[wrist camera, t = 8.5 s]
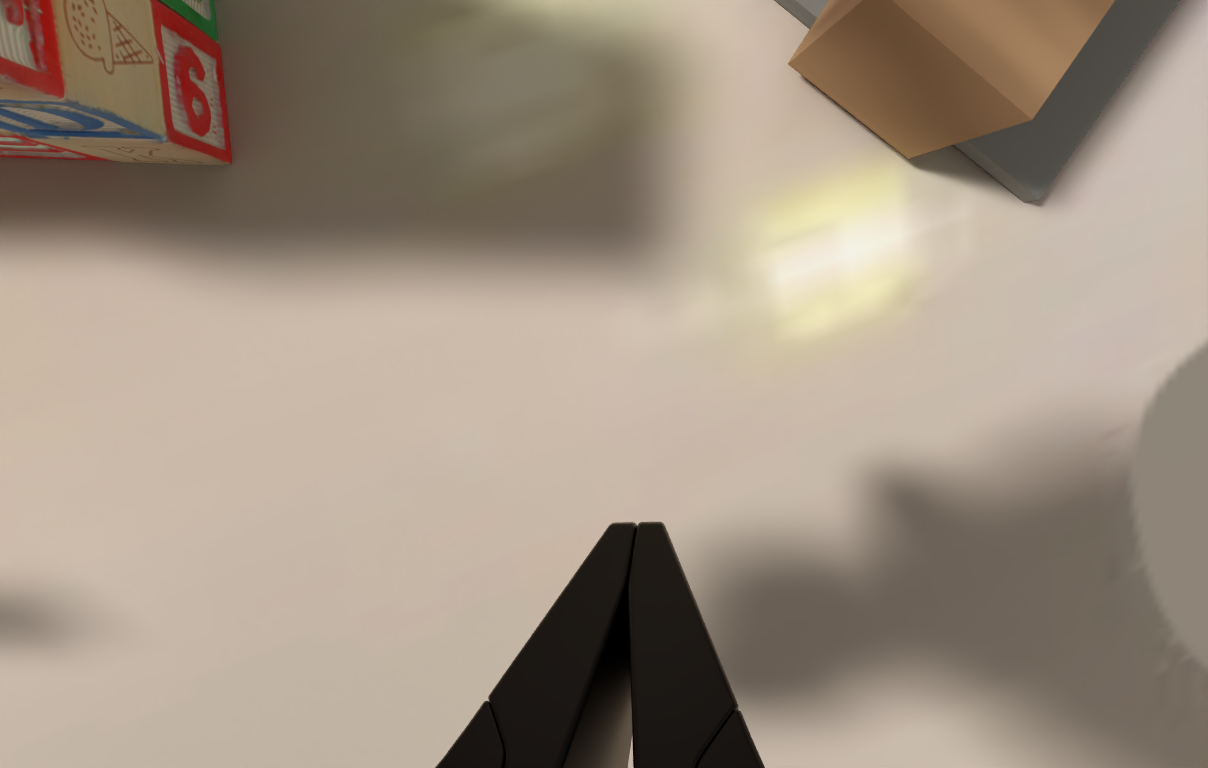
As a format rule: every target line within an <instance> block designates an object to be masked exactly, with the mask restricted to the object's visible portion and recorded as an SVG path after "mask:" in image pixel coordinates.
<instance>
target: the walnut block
mask: <svg viewBox="0 0 1208 768" xmlns="http://www.w3.org/2000/svg"><path fill="white" fill-rule="evenodd" d="M1114 1H1115V0H829V1H828V2H827V4H826V5H825V7H824V8H823V10H822V12H821V13H820V15H819V16H818V18H817V19H816V21H815V22H814V24H813V26H812V27H811V29H810V30H809V32H808V33H807V35H806V36H805V38H804V40H803V41H802V43H801V44H800V46H799V47H798V49H797V51H796V52H795V54H794V55H793V57H792V58H791V60H790V61H789V63H788V64H789V65H790V66H791V67H792V68H794V69H795V70H796V71H797V72H799V73H800V74H801V75H802V76H804V77H805V78H806V79H808V80H809V81H810V82H811V83H813V84H814V85H815V86H816V87H818V88H819V89H820V90H821V91H823V92H824V93H825V94H827V95H828V96H829V97H830V98H832V99H833V100H834V101H835V102H837V103H838V104H839V105H840V106H842V107H843V108H844V109H846V110H847V111H848V112H849V113H851V114H852V115H853V116H854V117H856V118H857V119H858V120H859V121H861V122H862V123H863V124H865V125H866V126H867V127H868V128H870V129H871V130H872V131H873V132H875V133H876V134H877V135H878V136H880V137H881V138H882V139H884V140H885V141H886V142H887V143H889V144H890V145H891V146H892V147H894V148H895V149H896V150H897V151H899V152H900V153H901V154H903V155H904V156H905V157H906V158H908V159H909V158H912V157H916V156H919V155H922V154H925V153H928V152H931V151H935V150H938V149H941V148H944V147H947V146H951V145H954V144H957V143H960V142H963V141H966V140H970V139H973V138H976V137H979V136H982V135H985V134H989V133H992V132H995V131H998V130H1001V129H1005V128H1008V127H1011V126H1014V125H1017V124H1020V123H1024V122H1027V121H1030V120H1032V119H1033V118H1034V117H1035V115H1036V114H1037V112H1038V111H1039V109H1040V108H1041V106H1042V105H1043V104H1044V102H1045V101H1046V99H1047V98H1048V96H1049V95H1050V93H1051V92H1052V91H1053V89H1054V88H1055V86H1056V85H1057V83H1058V82H1059V80H1060V79H1061V78H1062V76H1063V75H1064V73H1065V72H1066V70H1067V69H1068V68H1069V66H1070V65H1071V63H1072V62H1073V60H1074V59H1075V57H1076V56H1077V55H1078V53H1079V52H1080V50H1081V49H1082V47H1083V46H1084V44H1085V43H1086V42H1087V40H1088V39H1089V37H1090V36H1091V34H1092V33H1093V31H1094V30H1095V29H1096V27H1097V26H1098V24H1099V23H1100V21H1101V20H1102V18H1103V17H1104V16H1105V14H1106V13H1107V11H1108V10H1109V8H1110V7H1111V5H1112V4H1113V3H1114Z"/></svg>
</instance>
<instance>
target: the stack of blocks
mask: <svg viewBox="0 0 1208 768" xmlns="http://www.w3.org/2000/svg"><path fill="white" fill-rule="evenodd" d="M0 157H14V158H49V159H74V160H108V161H118V162H137V163H163V164H194V165H229V164H231V163H232V155H231V146H230V136H229V125H228V116H227V106H226V95H225V87H224V77H223V68H222V58H221V49H220V46H219V44H218V37H217V28H216V17H215V7H214V0H0Z"/></svg>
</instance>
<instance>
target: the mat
mask: <svg viewBox="0 0 1208 768" xmlns="http://www.w3.org/2000/svg"><path fill="white" fill-rule="evenodd" d="M775 1H776V2H778V3H779V4H780V5H781V6H782V7H784V8H785V9H786V10H787V11H789V12H790V13H791V14H792V15H794V16H795V17H796V18H797V19H798V20H800V21H801V22H802V23H803V24H805V25H806V26H807V27H808V28H810V29H811V27H812V26H813V24H814V22H815V21H816V19H817V18H818V16H819V15H820V13H821V12H822V10H823V8H824V7H825V5H826V4H827V2H828V1H829V0H775ZM1179 1H1180V0H1115V1H1114V3H1113V4H1112V5H1111V7H1110V8H1109V10H1108V11H1107V13H1106V14H1105V16H1104V17H1103V18H1102V20H1101V21H1100V23H1099V24H1098V26H1097V27H1096V29H1095V30H1094V31H1093V33H1092V34H1091V36H1090V37H1089V39H1088V40H1087V42H1086V43H1085V44H1084V46H1083V47H1082V49H1081V50H1080V52H1079V53H1078V55H1077V56H1076V57H1075V59H1074V60H1073V62H1072V63H1071V65H1070V66H1069V68H1068V69H1067V70H1066V72H1065V73H1064V75H1063V76H1062V78H1061V79H1060V80H1059V82H1058V83H1057V85H1056V86H1055V88H1054V89H1053V91H1052V92H1051V93H1050V95H1049V96H1048V98H1047V99H1046V101H1045V102H1044V104H1043V105H1042V106H1041V108H1040V109H1039V111H1038V112H1037V114H1036V115H1035V117H1034V118H1033V119H1032V120H1030V121H1027V122H1024V123H1020V124H1017V125H1014V126H1011V127H1008V128H1005V129H1001V130H998V131H995V132H992V133H989V134H985V135H982V136H979V137H976V138H973V139H970V140H966V141H963V142H960V143H957V144H954V146H955V147H956V148H958V149H959V150H960V151H961V152H963V153H964V154H965V155H966V156H968V157H969V158H970V159H971V160H972V161H974V162H975V163H976V164H977V165H979V166H980V167H981V168H982V169H984V170H985V171H986V172H987V173H989V174H990V175H991V176H992V177H993V178H995V179H996V180H997V181H998V182H1000V183H1001V184H1002V185H1003V186H1005V187H1006V188H1007V189H1008V190H1009V191H1011V192H1012V193H1013V194H1014V195H1016V196H1017V197H1018V198H1019V199H1021V200H1022V201H1023V202H1028V201H1035V200H1040V198H1041V197H1042V196H1043V194H1044V193H1045V191H1046V190H1047V189H1048V187H1049V186H1050V184H1051V183H1052V181H1053V180H1054V179H1055V177H1056V176H1057V174H1058V173H1059V171H1060V170H1061V169H1062V167H1063V166H1064V164H1065V163H1066V162H1067V160H1068V159H1069V157H1070V156H1071V154H1072V153H1073V152H1074V150H1075V149H1076V147H1077V146H1078V145H1079V143H1080V142H1081V140H1082V139H1083V137H1084V136H1085V135H1086V133H1087V132H1088V130H1089V129H1090V128H1091V126H1092V125H1093V123H1094V122H1095V120H1096V119H1097V118H1098V116H1099V115H1100V113H1101V112H1102V111H1103V109H1104V108H1105V106H1106V105H1107V103H1108V102H1109V101H1110V99H1111V98H1112V96H1113V95H1114V94H1115V92H1116V91H1117V89H1118V88H1119V86H1120V85H1121V84H1122V82H1123V81H1124V79H1125V78H1126V77H1127V75H1128V74H1129V72H1130V71H1131V69H1132V68H1133V67H1134V65H1135V64H1136V62H1137V61H1138V60H1139V58H1140V57H1141V55H1142V54H1143V52H1144V51H1145V50H1146V48H1147V47H1148V45H1149V44H1150V42H1151V41H1152V40H1153V38H1154V37H1155V35H1156V34H1157V33H1158V31H1159V30H1160V28H1161V27H1162V25H1163V24H1164V23H1165V21H1166V20H1167V18H1168V17H1169V16H1170V14H1171V13H1172V11H1173V10H1174V8H1175V7H1176V6H1177V4H1178V3H1179Z"/></svg>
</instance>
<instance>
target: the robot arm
mask: <svg viewBox="0 0 1208 768" xmlns="http://www.w3.org/2000/svg"><path fill="white" fill-rule="evenodd" d="M488 699H489V701H485V702H484V703H483V704H482V706H481V707H480V709H479V710H478V711H477V713H476V714H475V716H474V717H473V719H472V720H471V721H470V723H469V724H468V726H467V727H466V728H465V730H464V731H463V732H462V734H461V735H460V736H459V738H458V739H457V740H456V742H455V743H454V744H453V746H452V747H451V748H450V750H449V751H448V752H447V754H446V755H445V756H444V758H443V759H442V760H441V761H440V763H439V764H438V765H437V766H436V767H435V768H628V760H629V753H630V746H631V739H632V736H633V765H634V768H765V767H764V765H763V762H762V760H761V758H760V756H759V753H758V751H757V749H756V747H755V744H754V742H753V740H752V738H751V735H750V733H749V730H748V728H747V725H746V723H745V720H744V718H743V715H742V713H741V711H739V710H738V704H737V701H736V699H735V697H734V694H733V692H732V689H731V687H730V684H729V682H728V679H727V677H726V674H725V672H724V670H723V667H722V665H721V662H720V660H719V657H718V655H717V652H716V650H715V648H714V645H713V643H712V640H711V638H710V635H709V633H708V630H707V628H706V625H705V623H704V621H703V618H702V616H701V613H700V611H699V608H698V606H697V603H696V601H695V598H694V596H693V594H692V591H691V589H690V586H689V584H688V581H687V579H686V576H685V574H684V571H683V569H682V567H681V564H680V562H679V559H678V557H677V554H676V552H675V549H674V547H673V544H672V542H671V540H670V537H669V535H668V532H667V530H666V527H665V525H664V524H663V523H662V522H640V523H639V524H638V526H637V525H636V524H635V523H633V522H623V523H612V524H611V525H609V527H608V528H607V529H606V531H605V532H604V534H603V535H602V537H601V538H600V539H599V541H598V542H597V544H596V545H595V546H594V548H593V549H592V551H591V552H590V554H589V555H588V556H587V558H586V559H585V561H584V562H583V563H582V565H581V566H580V568H579V569H578V570H577V572H576V573H575V575H574V576H573V578H572V579H571V580H570V582H569V583H568V585H567V586H566V587H565V589H564V590H563V592H562V593H561V595H560V596H559V597H558V599H557V600H556V602H555V603H554V604H553V606H552V607H551V609H550V610H549V611H548V613H547V614H546V616H545V617H544V619H543V620H542V621H541V623H540V624H539V626H538V627H537V628H536V630H535V631H534V633H533V634H532V635H531V637H530V638H529V640H528V641H527V643H526V644H525V645H524V647H523V648H522V650H521V651H520V652H519V654H518V655H517V657H516V658H515V660H514V661H513V662H512V664H511V665H510V667H509V668H508V669H507V671H506V672H505V674H504V675H503V676H502V678H501V679H500V681H499V682H498V684H497V685H496V686H495V688H494V689H493V691H492V692H491V693H490V695H489V697H488Z"/></svg>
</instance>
